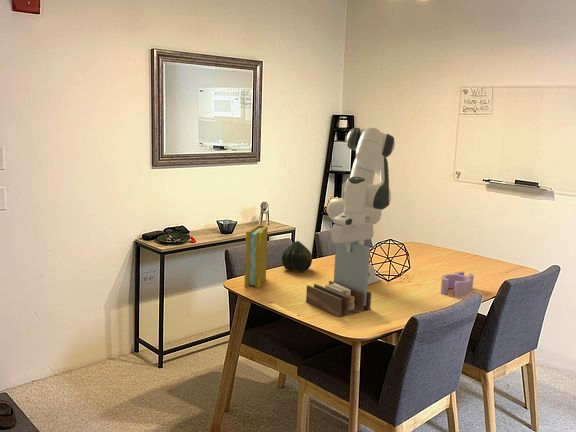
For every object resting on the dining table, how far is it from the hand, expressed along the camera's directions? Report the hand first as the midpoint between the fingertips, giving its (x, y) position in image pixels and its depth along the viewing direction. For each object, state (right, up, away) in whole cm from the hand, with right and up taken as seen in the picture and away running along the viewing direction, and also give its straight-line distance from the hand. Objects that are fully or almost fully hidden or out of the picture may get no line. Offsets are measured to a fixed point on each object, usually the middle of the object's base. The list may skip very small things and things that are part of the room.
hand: (351, 251), depth 234 cm
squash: (-22, -13, +55) cm, 61 cm away
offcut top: (-6, -17, 0) cm, 18 cm away
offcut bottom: (-6, -22, 0) cm, 23 cm away
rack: (-6, -23, 0) cm, 24 cm away
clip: (+52, -20, +31) cm, 64 cm away
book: (-40, -16, +33) cm, 54 cm away
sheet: (-1, -20, +4) cm, 20 cm away
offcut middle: (-5, -19, -1) cm, 20 cm away
